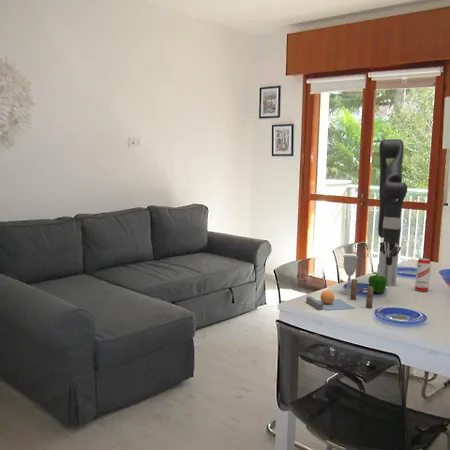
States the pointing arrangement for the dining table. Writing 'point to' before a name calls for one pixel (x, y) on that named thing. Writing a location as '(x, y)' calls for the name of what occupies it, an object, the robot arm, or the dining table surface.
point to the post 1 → (353, 289)
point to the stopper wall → (314, 303)
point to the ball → (327, 297)
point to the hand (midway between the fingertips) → (388, 265)
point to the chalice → (349, 269)
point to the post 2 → (369, 297)
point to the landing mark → (336, 305)
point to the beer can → (422, 275)
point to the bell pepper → (377, 283)
